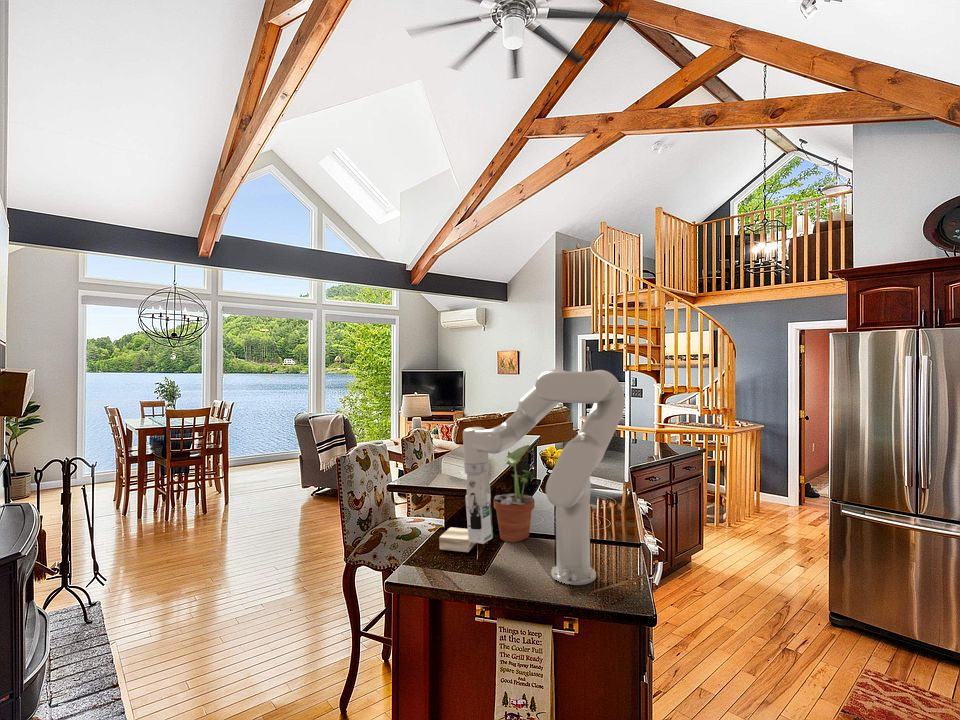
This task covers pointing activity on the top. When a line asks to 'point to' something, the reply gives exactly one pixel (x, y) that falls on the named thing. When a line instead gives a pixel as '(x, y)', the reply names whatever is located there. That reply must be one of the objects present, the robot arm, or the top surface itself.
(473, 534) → the syrup box
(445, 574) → the top surface
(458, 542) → the birch block
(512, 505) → the potted plant
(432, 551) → the top surface
